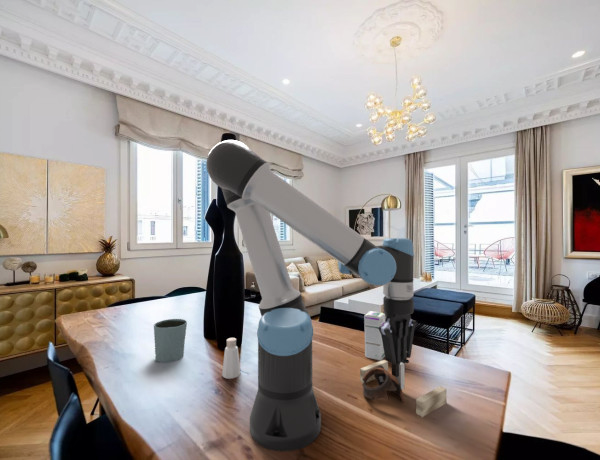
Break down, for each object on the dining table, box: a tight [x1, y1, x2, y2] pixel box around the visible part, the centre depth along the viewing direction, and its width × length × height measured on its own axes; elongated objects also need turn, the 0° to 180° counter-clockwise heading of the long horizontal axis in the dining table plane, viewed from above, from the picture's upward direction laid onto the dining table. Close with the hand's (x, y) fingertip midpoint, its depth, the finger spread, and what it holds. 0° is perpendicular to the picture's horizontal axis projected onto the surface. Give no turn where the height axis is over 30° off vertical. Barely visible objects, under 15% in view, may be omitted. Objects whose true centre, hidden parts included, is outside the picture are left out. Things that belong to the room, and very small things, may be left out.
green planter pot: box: [153, 318, 188, 364], centre depth 94 cm, size 10×10×12 cm
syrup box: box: [363, 310, 386, 361], centre depth 95 cm, size 6×6×14 cm
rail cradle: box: [359, 359, 447, 418], centre depth 73 cm, size 10×19×4 cm, turn 33°
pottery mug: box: [361, 365, 405, 403], centre depth 71 cm, size 12×9×8 cm
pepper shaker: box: [221, 337, 241, 379], centre depth 82 cm, size 5×5×11 cm
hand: (398, 386), depth 73 cm, fingers closed
